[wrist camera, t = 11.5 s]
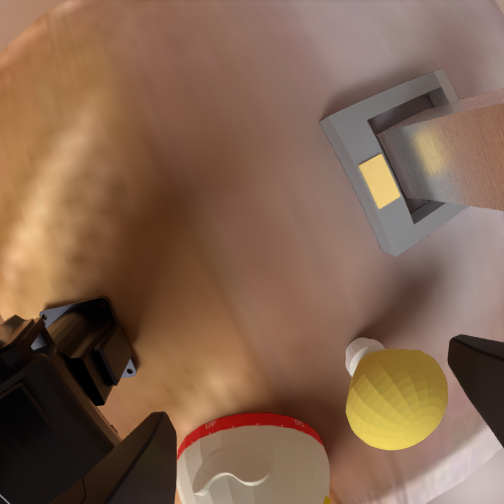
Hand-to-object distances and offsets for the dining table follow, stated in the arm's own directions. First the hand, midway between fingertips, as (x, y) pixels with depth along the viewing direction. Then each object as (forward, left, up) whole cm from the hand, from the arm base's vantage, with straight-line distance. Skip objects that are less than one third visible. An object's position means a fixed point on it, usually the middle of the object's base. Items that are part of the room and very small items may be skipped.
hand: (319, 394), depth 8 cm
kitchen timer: (-5, -18, -13) cm, 23 cm away
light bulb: (+6, -8, -13) cm, 17 cm away
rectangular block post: (+13, +6, -13) cm, 19 cm away
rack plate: (+13, +6, -13) cm, 19 cm away
